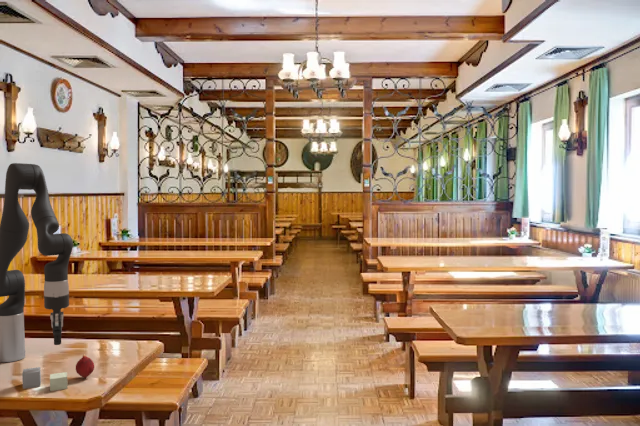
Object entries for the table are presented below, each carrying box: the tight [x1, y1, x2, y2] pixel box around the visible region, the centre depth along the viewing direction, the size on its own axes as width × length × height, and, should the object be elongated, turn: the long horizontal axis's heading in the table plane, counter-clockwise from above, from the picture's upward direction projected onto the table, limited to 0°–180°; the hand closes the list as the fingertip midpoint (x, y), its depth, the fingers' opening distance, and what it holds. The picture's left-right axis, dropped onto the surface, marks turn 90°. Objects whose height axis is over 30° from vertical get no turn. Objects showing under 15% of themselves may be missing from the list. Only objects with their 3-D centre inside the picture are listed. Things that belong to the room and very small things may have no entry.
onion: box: [75, 354, 95, 379], centre depth 189 cm, size 6×6×8 cm
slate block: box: [21, 366, 42, 390], centre depth 183 cm, size 5×5×5 cm
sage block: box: [49, 371, 68, 392], centre depth 181 cm, size 5×5×4 cm
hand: (57, 344), depth 188 cm, fingers closed
